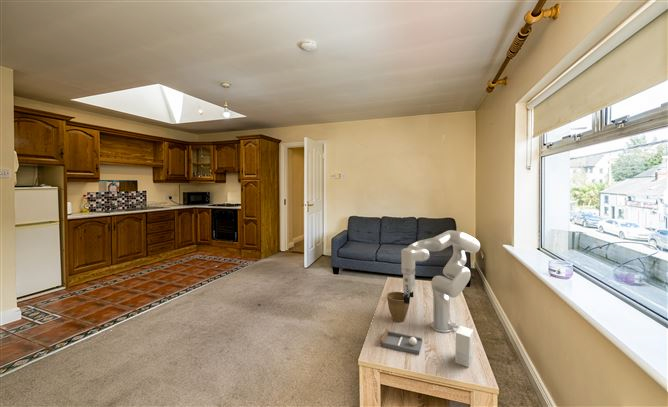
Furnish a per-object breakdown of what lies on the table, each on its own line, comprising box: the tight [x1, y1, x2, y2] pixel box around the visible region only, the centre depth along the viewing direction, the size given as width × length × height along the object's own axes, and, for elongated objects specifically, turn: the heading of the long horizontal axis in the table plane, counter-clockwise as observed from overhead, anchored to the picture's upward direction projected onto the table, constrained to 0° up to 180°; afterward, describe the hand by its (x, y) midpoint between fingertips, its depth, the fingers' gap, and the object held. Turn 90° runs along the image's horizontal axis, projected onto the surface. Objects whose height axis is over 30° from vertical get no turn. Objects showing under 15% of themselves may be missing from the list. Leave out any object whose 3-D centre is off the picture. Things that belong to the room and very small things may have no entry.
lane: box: [380, 328, 423, 356], centre depth 148 cm, size 20×13×4 cm, turn 65°
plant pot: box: [386, 291, 410, 323], centre depth 175 cm, size 15×15×16 cm
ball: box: [409, 337, 417, 345], centre depth 146 cm, size 4×4×4 cm
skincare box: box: [454, 325, 474, 368], centre depth 132 cm, size 8×7×16 cm
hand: (408, 300), depth 153 cm, fingers open, 9 cm apart
